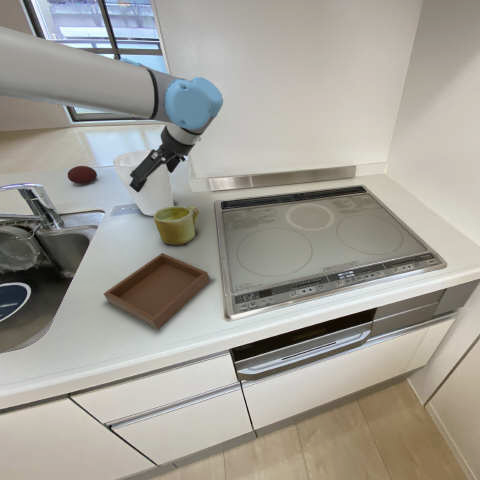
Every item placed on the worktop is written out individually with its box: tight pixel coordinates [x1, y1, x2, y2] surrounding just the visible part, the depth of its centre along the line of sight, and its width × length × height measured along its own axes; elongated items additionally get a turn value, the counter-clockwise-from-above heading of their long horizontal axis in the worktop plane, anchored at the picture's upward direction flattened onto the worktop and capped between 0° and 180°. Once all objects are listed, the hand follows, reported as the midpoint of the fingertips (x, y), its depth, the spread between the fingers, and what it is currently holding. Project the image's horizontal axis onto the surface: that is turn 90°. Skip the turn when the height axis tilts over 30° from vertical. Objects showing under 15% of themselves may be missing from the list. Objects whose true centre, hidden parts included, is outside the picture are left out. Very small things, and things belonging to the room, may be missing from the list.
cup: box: [112, 149, 175, 217], centre depth 80 cm, size 13×13×17 cm
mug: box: [153, 204, 201, 246], centre depth 73 cm, size 12×10×10 cm
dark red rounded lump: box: [67, 165, 98, 185], centre depth 94 cm, size 7×8×6 cm
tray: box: [103, 252, 211, 330], centre depth 58 cm, size 15×15×3 cm
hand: (152, 178), depth 78 cm, fingers open, 13 cm apart
